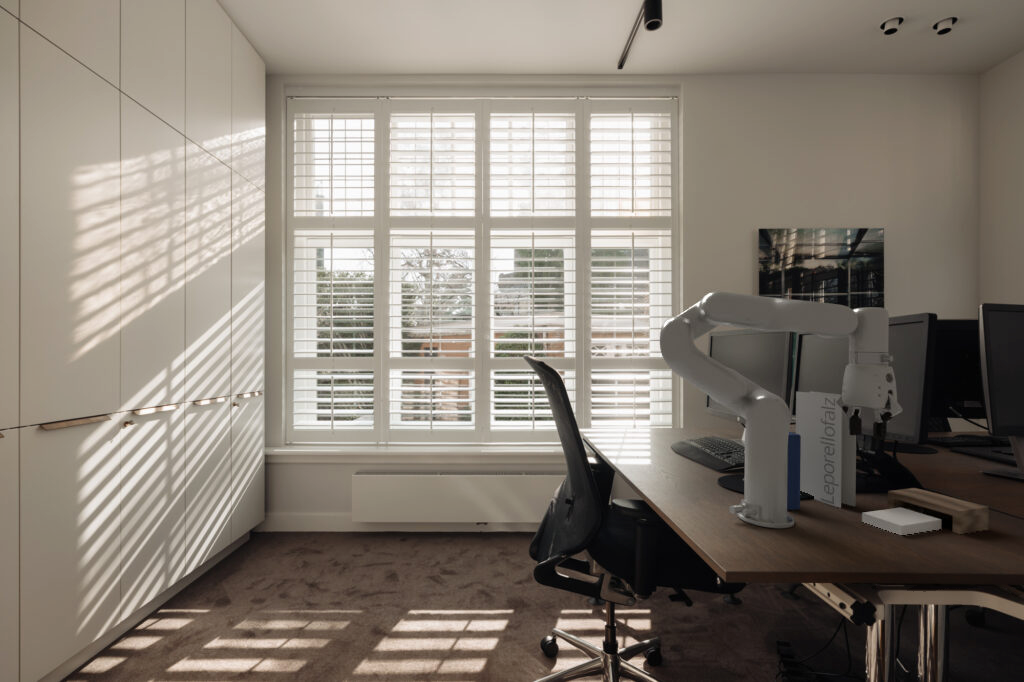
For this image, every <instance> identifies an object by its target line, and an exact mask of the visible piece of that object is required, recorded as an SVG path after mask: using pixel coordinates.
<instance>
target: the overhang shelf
mask: <svg viewBox="0 0 1024 682" xmlns="http://www.w3.org/2000/svg"><path fill="white" fill-rule="evenodd" d="M900 507H901V508H905V509H908V510H911V511H915V512H918V513H921V514H924V513H925V514H926V515H927V514H928V515H930V514H931V515H930V516H933V517H934V516H935V517H936V518H937V517H938V518H939V519H944V520H947V521H951V522H952V533H953V532H955V533H954V534H956V533H958V534H957V535H959V534H962V535H965V534H964V533H968V534H971V533H970V532H973V533H977V532H976V531H979V532H984V531H983V530H985V531H988V530H989V516H990V515H989V514H990V513H989V512H990V511H989V509H990V508H989V506H987V505H983V504H980V503H979V504H978V503H975V502H971V501H967V500H963V499H960V498H956V497H951V496H948V495H944V494H940V493H936V492H933V491H932V492H931V491H928V490H925V489H920V488H917V487H910V488H902V489H897V490H895V489H894V490H888V491H887V509H893V508H900ZM923 512H924V513H923Z"/></svg>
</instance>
